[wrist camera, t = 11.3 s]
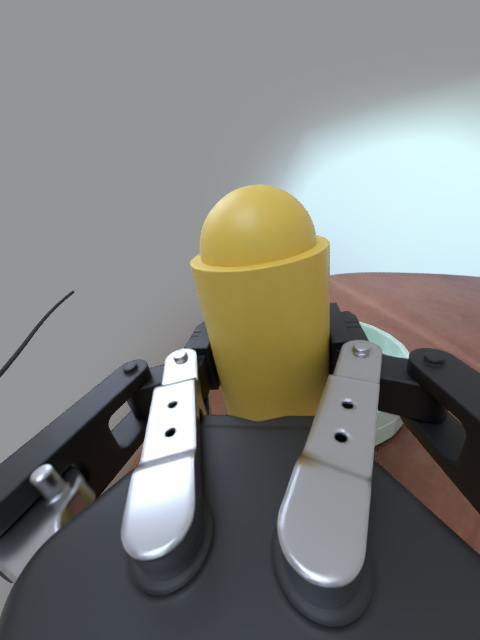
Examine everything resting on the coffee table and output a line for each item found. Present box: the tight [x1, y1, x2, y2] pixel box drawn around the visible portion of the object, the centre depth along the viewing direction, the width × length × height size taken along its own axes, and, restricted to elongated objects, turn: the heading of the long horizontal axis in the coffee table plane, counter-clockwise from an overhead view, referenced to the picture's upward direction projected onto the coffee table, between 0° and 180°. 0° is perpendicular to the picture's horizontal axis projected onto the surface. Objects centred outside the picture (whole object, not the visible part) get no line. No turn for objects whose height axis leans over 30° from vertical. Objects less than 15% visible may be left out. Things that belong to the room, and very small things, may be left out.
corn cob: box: [190, 185, 330, 421], centre depth 11 cm, size 5×5×14 cm
